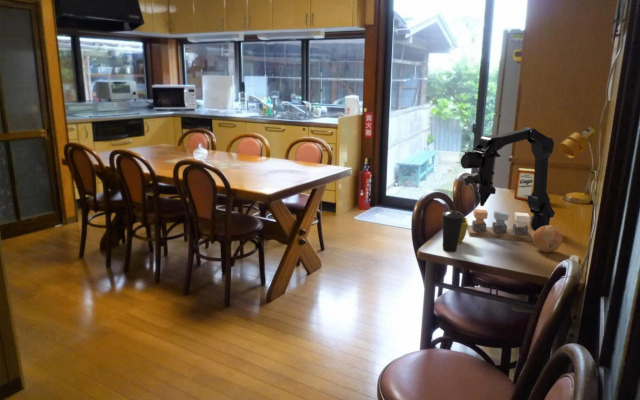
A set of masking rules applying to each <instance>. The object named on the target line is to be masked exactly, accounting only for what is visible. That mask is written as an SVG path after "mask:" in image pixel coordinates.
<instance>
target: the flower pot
mask: <svg viewBox="0 0 640 400" xmlns="http://www.w3.org/2000/svg"><path fill="white" fill-rule="evenodd" d="M468 225H469V222H468V219H467V217H465V216H464V218H463V221H462V225H461V230H460V235H459V240H458V245H460V244H461V243H462V242H463V241H464V239H465V237H466V235H467V232H468V230H467V227H468Z"/></svg>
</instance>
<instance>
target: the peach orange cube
mask: <svg viewBox="0 0 640 400" xmlns="http://www.w3.org/2000/svg"><path fill="white" fill-rule="evenodd" d="M488 214H489V213H488V211H487V210H486V209H478V208H477V209H476V208H474V209H473V217H474V219H475V220H474V221H475V223H476V224H483V223H484V221H485V220H487V219H488Z"/></svg>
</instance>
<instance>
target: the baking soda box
mask: <svg viewBox="0 0 640 400" xmlns="http://www.w3.org/2000/svg"><path fill="white" fill-rule="evenodd" d="M534 171H535V168H534V169H533V168H523V167H521V168H520V167H518V169H517V176H516V181H515V182H516V183H515V188H514V189H515V191H514V196H513V197H514V198H513V199H516V200H522V201H523V200H525V201H528V195H531V194H532V193H533V191H534Z"/></svg>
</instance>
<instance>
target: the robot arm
mask: <svg viewBox="0 0 640 400" xmlns="http://www.w3.org/2000/svg"><path fill="white" fill-rule="evenodd" d="M525 140H526V142H528V144H530V146H531V147H530V148H531V152H532V154H533V156H534V170H535V171H534V191H533V193H532V194H531V195H528V200H527V205H528V208H529V211H530V213H532V216H530V221H529V223H530V224H529V225H530V228H531V229H532V230H534V231H536V230H537V229H538V228H540V227H542V226H548V225H549V226H550V221H551V218H554V217H555V214H556V212H555V210H554V209H553V207H552V206H551V199H550V196H549V194H548V192H547V187H548V186H547V185H548V174H549V173H548V168H549V158H550V157H551V156H552V154H553V151H554V148H555V147H554V146H555V141H554V139H553V138H552V137H549V136H546V135H544V134H543V133H541V132H539V131H538V130H537V129H535V128H534V127H527V126H526V127H523V128H521V129H517V130H514V131H510V132H506V133H503V134H490V135H482V136H481V137H480V140H479V141H478V143H477V144H476V145H475V147H474V148H473V149H472V150H471V151H469V150H465V151H464V154H463V155H462V157H461V158H460V165H461V168H462V169H467V170H468V169H476V172H473V173H470V174H466V175H463V176H462V179H463V183H464V185H465V187H466V186H469V185H472V184H473V185H476V184H477V185H476V186H475V187H474V188H475V190H476V192H478V195H479V197H478V198H479V204H480V207H484V206H485V204H486V202H487V201H488V199H489V197H490V196H491V195H496V191H497V189H496V187H495V186H494V182H493V178H494V175H495V171H494V170H495V164H496V158H501V154H500V153H498V151H500V150H501V149H503V148H504V146H507V145H511V144H514V143H517V142H521V141H525Z"/></svg>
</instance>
